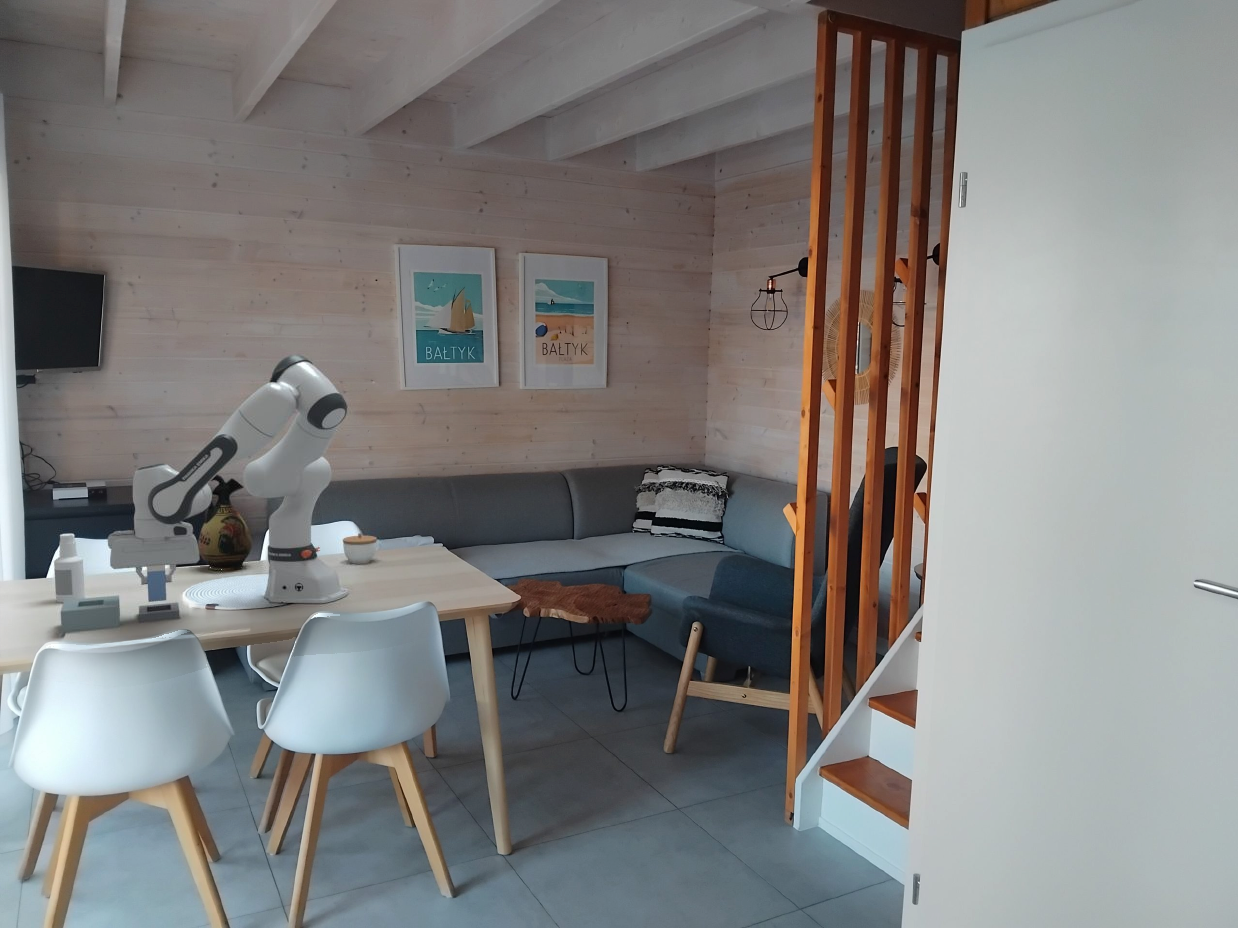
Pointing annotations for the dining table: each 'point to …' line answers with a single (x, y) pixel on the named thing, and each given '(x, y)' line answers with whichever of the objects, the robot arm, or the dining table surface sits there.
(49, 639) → the dining table surface
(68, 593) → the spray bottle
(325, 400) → the robot arm
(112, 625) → the port block
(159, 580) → the plug
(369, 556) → the lidded jar
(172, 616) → the holster
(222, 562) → the ceramic jug
